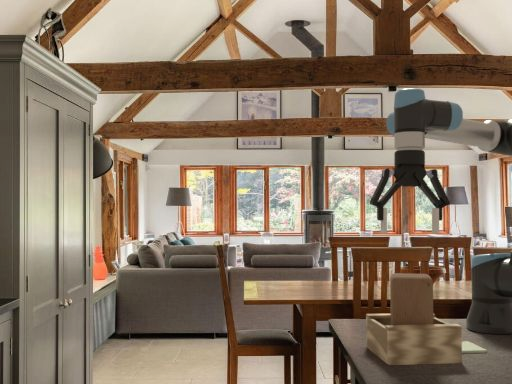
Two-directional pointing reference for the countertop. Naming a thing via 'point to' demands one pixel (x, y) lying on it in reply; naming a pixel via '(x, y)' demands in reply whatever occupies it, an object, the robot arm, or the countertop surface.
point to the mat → (471, 348)
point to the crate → (413, 341)
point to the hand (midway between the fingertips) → (409, 233)
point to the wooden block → (411, 299)
